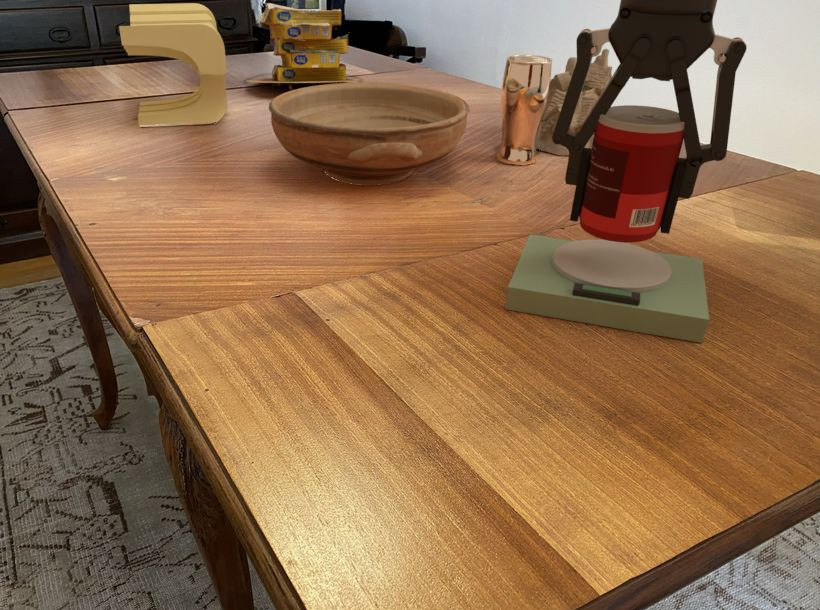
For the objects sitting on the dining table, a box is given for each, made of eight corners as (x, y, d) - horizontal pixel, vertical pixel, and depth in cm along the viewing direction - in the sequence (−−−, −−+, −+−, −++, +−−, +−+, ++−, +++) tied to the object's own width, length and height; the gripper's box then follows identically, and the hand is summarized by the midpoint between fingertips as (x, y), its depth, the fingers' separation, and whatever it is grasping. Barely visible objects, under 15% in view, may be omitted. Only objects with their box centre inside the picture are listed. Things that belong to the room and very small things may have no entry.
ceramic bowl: (266, 140, 120) (262, 78, 114) (430, 134, 123) (433, 74, 118) (280, 221, 89) (276, 141, 83) (498, 210, 92) (508, 133, 87)
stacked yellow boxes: (254, 77, 165) (248, -2, 156) (360, 78, 165) (360, -2, 156) (240, 101, 144) (233, 11, 135) (361, 102, 144) (362, 12, 135)
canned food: (667, 224, 71) (697, 112, 65) (646, 251, 65) (676, 130, 59) (592, 208, 74) (614, 100, 69) (566, 232, 69) (587, 117, 63)
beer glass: (484, 159, 112) (495, 58, 104) (512, 150, 115) (524, 52, 108) (520, 169, 107) (534, 64, 99) (547, 160, 111) (563, 59, 103)
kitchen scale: (695, 279, 75) (703, 252, 74) (702, 343, 64) (711, 312, 63) (526, 254, 81) (530, 228, 79) (504, 309, 69) (508, 280, 68)
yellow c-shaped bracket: (232, 136, 122) (222, 23, 112) (137, 141, 119) (118, 26, 110) (222, 97, 147) (214, 2, 137) (143, 101, 144) (129, 4, 134)
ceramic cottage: (554, 122, 130) (566, 35, 122) (627, 146, 119) (646, 53, 110) (491, 140, 123) (500, 49, 115) (563, 168, 112) (578, 70, 104)
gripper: (543, -44, 57) (507, 221, 69) (829, -36, 51) (736, 252, 63) (554, -48, 63) (520, 196, 75) (811, -41, 57) (730, 223, 69)
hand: (619, 221), depth 69 cm, fingers closed on canned food, 8 cm apart
